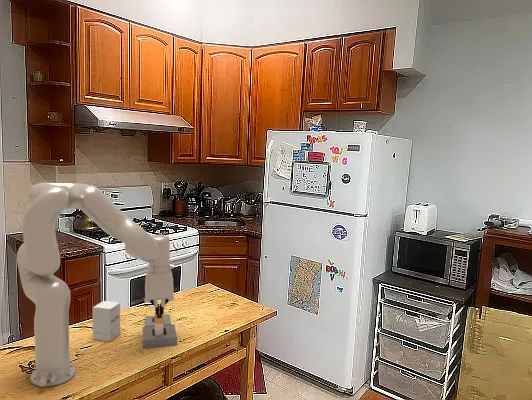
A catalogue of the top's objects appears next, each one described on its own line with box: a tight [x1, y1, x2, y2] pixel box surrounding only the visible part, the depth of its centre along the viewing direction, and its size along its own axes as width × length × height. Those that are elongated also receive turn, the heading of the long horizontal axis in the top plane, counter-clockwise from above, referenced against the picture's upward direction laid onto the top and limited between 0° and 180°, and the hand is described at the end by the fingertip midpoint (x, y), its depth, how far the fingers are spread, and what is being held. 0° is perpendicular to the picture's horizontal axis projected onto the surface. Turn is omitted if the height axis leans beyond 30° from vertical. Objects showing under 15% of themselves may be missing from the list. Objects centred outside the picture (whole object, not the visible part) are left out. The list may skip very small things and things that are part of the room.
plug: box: [154, 314, 164, 336], centre depth 163 cm, size 4×3×9 cm
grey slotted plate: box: [144, 313, 172, 327], centre depth 176 cm, size 10×10×2 cm
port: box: [142, 323, 178, 349], centre depth 163 cm, size 12×12×3 cm
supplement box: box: [92, 300, 121, 342], centre depth 164 cm, size 7×7×13 cm
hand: (159, 316), depth 162 cm, fingers closed
